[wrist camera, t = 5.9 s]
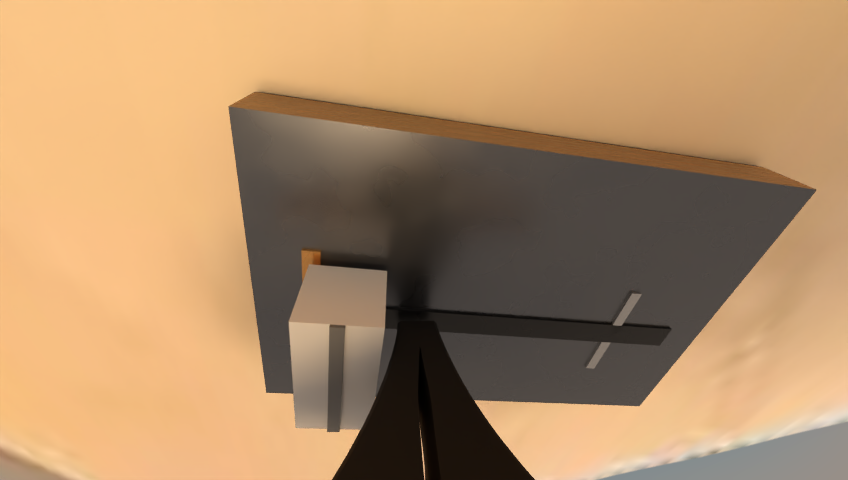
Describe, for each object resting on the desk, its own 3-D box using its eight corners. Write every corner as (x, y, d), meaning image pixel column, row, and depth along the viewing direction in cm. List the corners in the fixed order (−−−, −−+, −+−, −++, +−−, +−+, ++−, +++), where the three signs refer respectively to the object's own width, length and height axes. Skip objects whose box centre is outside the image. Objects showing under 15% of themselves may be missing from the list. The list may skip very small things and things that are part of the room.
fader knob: (387, 270, 12) (384, 330, 9) (374, 368, 14) (370, 432, 12) (309, 264, 11) (287, 324, 9) (311, 365, 14) (294, 431, 12)
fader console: (762, 167, 13) (820, 191, 11) (618, 372, 19) (640, 407, 18) (255, 91, 11) (226, 107, 9) (279, 355, 17) (265, 394, 15)
